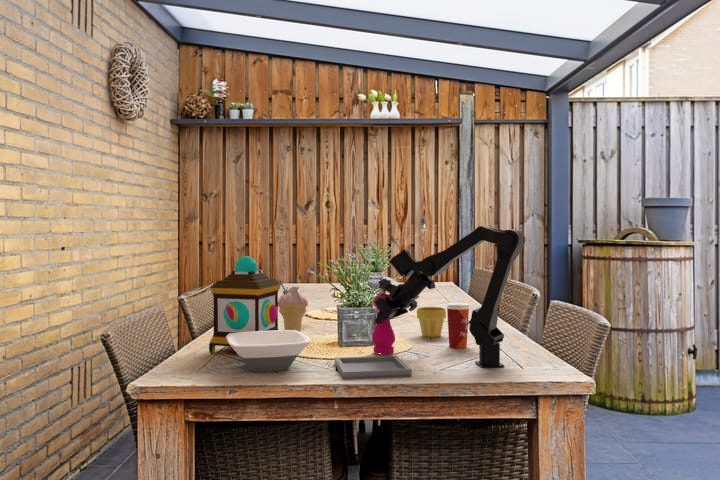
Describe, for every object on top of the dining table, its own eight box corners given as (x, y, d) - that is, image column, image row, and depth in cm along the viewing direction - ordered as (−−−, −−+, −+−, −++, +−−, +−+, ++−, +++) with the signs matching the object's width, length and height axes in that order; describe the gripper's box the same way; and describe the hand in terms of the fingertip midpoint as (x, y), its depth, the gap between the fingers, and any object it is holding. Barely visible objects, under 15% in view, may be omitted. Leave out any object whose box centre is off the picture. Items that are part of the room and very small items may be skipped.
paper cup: (469, 349, 202) (469, 305, 202) (445, 348, 204) (445, 305, 204) (470, 344, 210) (470, 302, 210) (446, 343, 212) (447, 302, 211)
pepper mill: (369, 354, 194) (368, 289, 194) (375, 349, 201) (374, 287, 201) (392, 355, 192) (391, 290, 192) (397, 350, 199) (397, 287, 199)
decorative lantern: (287, 346, 207) (287, 254, 207) (262, 358, 188) (262, 257, 188) (232, 343, 213) (232, 253, 212) (202, 354, 194) (201, 256, 193)
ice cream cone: (287, 340, 218) (286, 282, 218) (271, 335, 227) (271, 279, 227) (313, 336, 225) (313, 280, 224) (298, 332, 234) (298, 278, 233)
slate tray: (411, 376, 166) (411, 369, 166) (343, 379, 163) (343, 372, 163) (396, 361, 184) (396, 355, 184) (334, 363, 181) (334, 357, 181)
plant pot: (414, 337, 223) (414, 309, 223) (418, 332, 233) (419, 306, 233) (444, 338, 221) (444, 310, 221) (447, 333, 231) (447, 307, 231)
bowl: (231, 379, 163) (230, 347, 163) (224, 361, 185) (224, 332, 185) (315, 374, 169) (315, 342, 169) (298, 356, 191) (298, 328, 191)
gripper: (408, 266, 202) (378, 299, 208) (380, 270, 186) (348, 305, 192) (431, 292, 198) (399, 325, 204) (404, 298, 182) (371, 333, 188)
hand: (379, 321), depth 197 cm, fingers closed on pepper mill, 5 cm apart
